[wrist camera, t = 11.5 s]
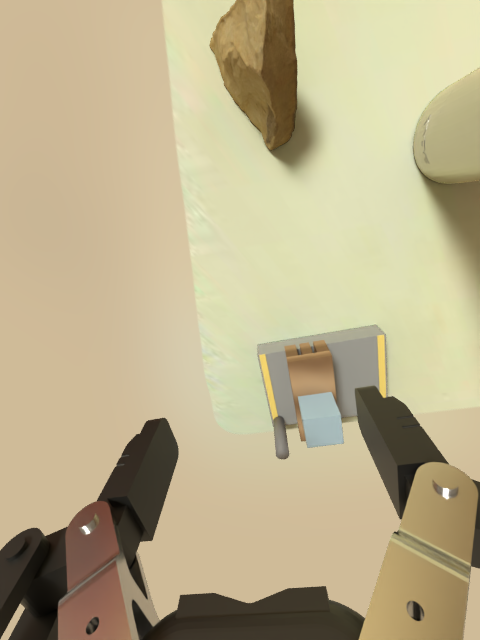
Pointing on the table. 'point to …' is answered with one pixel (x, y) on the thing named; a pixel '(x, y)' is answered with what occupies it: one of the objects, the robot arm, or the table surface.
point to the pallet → (309, 373)
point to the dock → (348, 364)
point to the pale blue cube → (321, 420)
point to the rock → (260, 64)
